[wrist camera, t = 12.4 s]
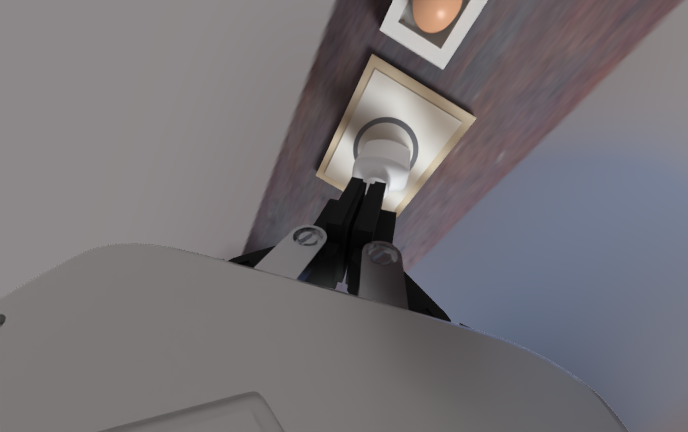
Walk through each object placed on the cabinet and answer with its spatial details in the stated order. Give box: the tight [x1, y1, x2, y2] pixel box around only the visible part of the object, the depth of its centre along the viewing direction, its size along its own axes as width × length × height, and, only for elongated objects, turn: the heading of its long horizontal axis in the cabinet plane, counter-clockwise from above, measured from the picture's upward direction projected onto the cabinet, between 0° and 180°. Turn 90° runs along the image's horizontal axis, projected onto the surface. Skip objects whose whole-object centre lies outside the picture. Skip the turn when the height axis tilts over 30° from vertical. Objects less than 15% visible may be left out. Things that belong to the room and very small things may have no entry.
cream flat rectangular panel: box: [316, 54, 476, 218], centre depth 30 cm, size 16×13×1 cm
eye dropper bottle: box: [352, 139, 411, 199], centre depth 25 cm, size 4×6×12 cm
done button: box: [413, 0, 462, 34], centre depth 20 cm, size 4×4×2 cm
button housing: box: [380, 0, 488, 69], centre depth 22 cm, size 7×7×3 cm
